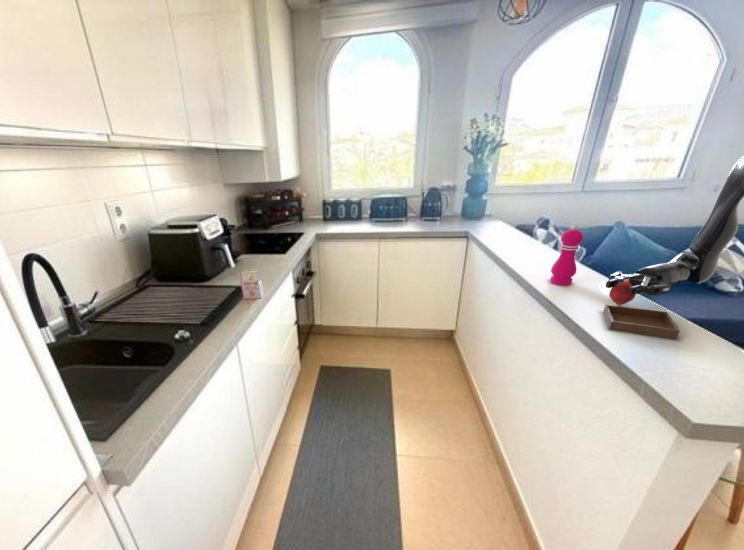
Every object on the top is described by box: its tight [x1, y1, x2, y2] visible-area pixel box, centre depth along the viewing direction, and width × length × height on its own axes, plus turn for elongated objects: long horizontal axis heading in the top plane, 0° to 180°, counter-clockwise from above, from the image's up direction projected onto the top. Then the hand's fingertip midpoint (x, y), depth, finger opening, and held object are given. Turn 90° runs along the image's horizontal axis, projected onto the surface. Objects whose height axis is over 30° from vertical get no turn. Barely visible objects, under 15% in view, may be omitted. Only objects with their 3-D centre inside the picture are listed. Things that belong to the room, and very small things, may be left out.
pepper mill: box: [549, 224, 584, 286], centre depth 116 cm, size 7×7×20 cm
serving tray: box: [602, 304, 681, 340], centre depth 91 cm, size 13×11×2 cm
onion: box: [609, 279, 636, 306], centre depth 100 cm, size 6×6×8 cm
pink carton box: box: [239, 270, 265, 300], centre depth 125 cm, size 4×7×10 cm, turn 85°
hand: (619, 287), depth 99 cm, fingers closed on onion, 5 cm apart
